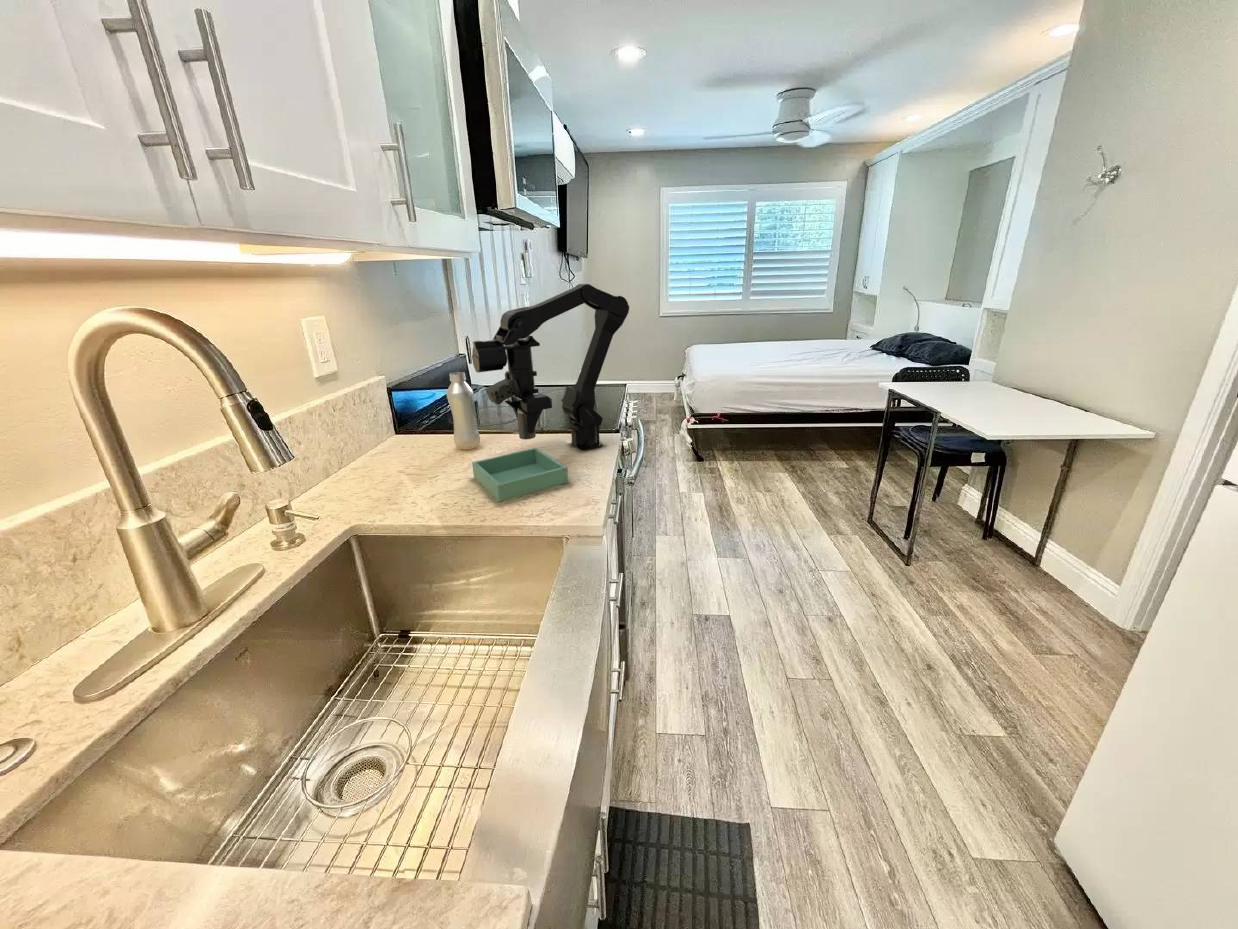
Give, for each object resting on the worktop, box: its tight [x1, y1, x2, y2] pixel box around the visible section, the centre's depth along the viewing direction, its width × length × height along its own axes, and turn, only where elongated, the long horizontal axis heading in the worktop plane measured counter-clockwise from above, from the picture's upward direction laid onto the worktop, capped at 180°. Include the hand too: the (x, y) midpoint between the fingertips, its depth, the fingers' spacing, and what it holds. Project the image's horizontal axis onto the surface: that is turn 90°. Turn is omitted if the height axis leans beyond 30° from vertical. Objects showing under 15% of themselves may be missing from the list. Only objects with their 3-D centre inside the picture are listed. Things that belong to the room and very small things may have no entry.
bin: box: [471, 447, 569, 502], centre depth 107 cm, size 16×16×4 cm
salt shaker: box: [516, 410, 537, 440], centre depth 119 cm, size 4×4×7 cm
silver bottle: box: [446, 371, 481, 450], centre depth 127 cm, size 6×7×20 cm
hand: (527, 431), depth 120 cm, fingers closed on salt shaker, 4 cm apart
